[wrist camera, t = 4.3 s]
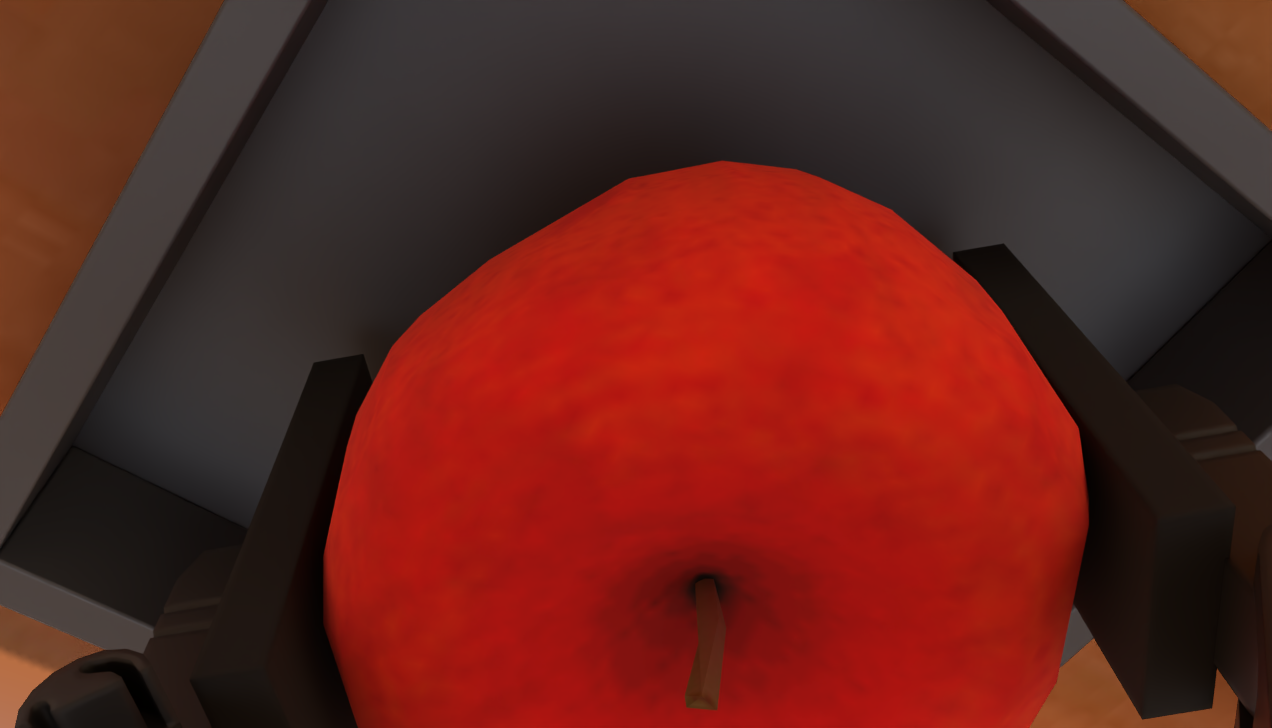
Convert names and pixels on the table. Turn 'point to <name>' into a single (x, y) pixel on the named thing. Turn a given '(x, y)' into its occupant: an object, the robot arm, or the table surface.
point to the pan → (562, 182)
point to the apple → (708, 480)
